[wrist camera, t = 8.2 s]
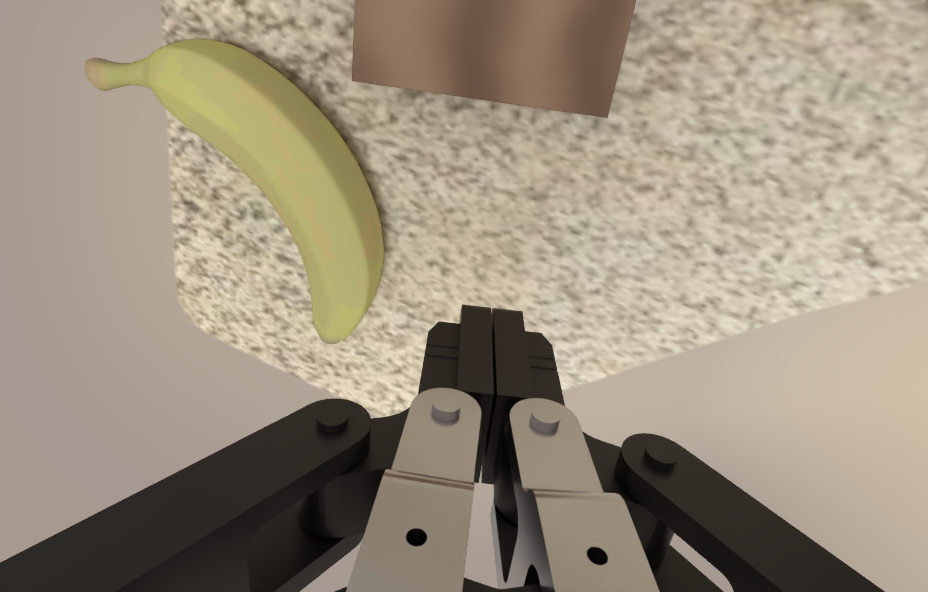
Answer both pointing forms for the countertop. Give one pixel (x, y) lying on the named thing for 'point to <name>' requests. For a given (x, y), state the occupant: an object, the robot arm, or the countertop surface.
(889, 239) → the countertop surface
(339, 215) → the banana
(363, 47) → the walnut board
